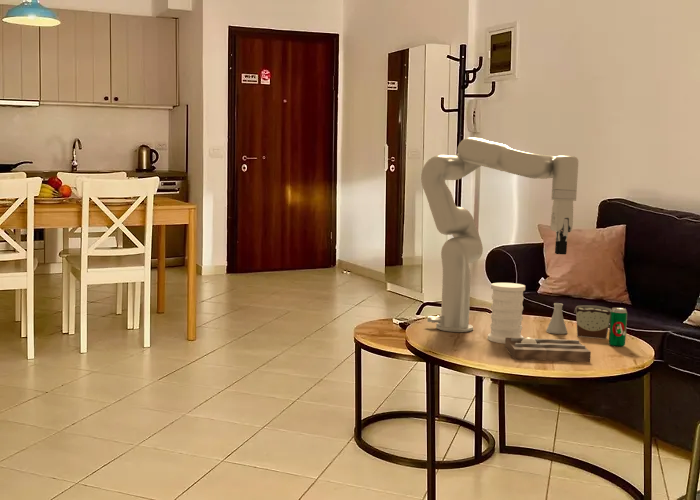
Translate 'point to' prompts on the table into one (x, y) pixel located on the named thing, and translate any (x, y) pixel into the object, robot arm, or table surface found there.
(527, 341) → the ball
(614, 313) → the soda can
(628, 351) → the table surface
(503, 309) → the decorative container
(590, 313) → the food container
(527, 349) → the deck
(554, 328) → the flask
